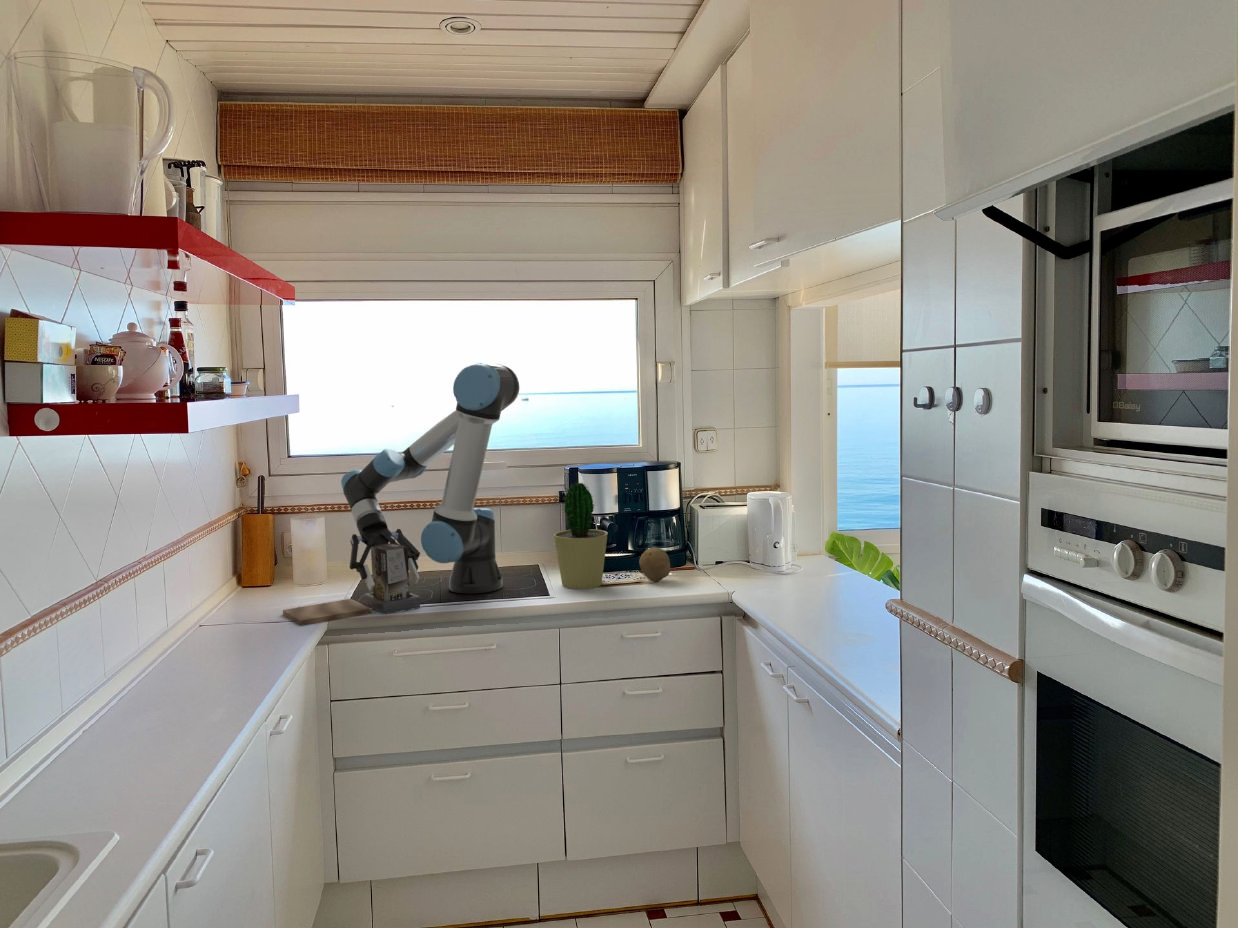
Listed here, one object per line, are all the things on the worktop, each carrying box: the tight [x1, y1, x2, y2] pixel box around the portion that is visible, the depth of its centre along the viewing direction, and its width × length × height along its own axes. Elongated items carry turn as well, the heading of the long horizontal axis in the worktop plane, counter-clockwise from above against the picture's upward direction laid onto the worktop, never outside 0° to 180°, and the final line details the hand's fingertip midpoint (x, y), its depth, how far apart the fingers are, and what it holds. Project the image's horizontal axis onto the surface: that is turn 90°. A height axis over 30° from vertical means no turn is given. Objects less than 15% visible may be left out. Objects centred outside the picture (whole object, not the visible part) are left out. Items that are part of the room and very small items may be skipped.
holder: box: [363, 591, 421, 615], centre depth 244 cm, size 10×13×3 cm
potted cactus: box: [553, 481, 609, 590], centre depth 263 cm, size 15×15×30 cm
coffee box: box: [370, 542, 411, 601], centre depth 243 cm, size 9×6×16 cm
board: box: [282, 598, 372, 626], centre depth 237 cm, size 18×14×1 cm
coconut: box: [638, 546, 671, 583], centre depth 266 cm, size 9×9×10 cm
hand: (395, 584), depth 241 cm, fingers open, 12 cm apart
